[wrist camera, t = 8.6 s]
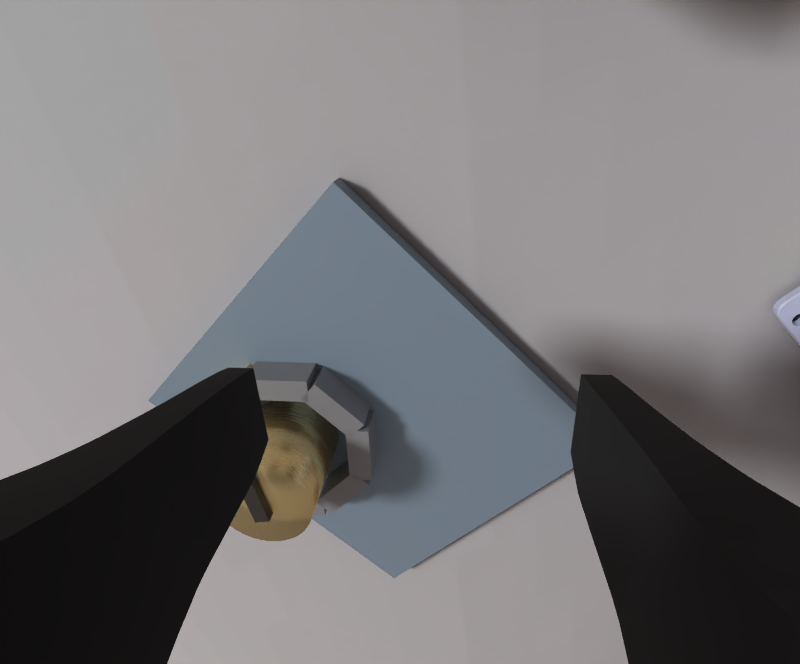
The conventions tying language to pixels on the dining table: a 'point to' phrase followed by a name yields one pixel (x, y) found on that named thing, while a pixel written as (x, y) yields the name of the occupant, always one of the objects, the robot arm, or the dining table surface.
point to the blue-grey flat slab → (390, 384)
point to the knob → (288, 472)
